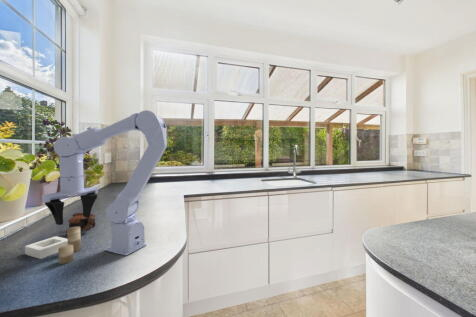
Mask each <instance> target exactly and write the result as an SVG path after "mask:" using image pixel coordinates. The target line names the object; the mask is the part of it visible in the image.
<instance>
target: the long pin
mask: <svg viewBox="0 0 476 317" xmlns="http://www.w3.org/2000/svg"><path fill="white" fill-rule="evenodd" d="M66 229H67V235H66V236H67V239H68V245H73V254H74V253H78V252H80V251H82V240H81V239H82V238H81V237H82V232H81V231H80V227H79V226H77V227H71V228H69V227H68V228H66Z"/></svg>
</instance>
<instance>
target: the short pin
mask: <svg viewBox="0 0 476 317" xmlns="http://www.w3.org/2000/svg"><path fill="white" fill-rule="evenodd" d="M58 250H59V252H58V264H59V265H66V264H69V263H71V262H73V261H74V258H75V256H74V253H73V245H65V246H62V247H60V248H59V249H58Z"/></svg>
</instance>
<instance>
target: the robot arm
mask: <svg viewBox="0 0 476 317" xmlns="http://www.w3.org/2000/svg"><path fill="white" fill-rule="evenodd" d="M167 129H168V128H167V125H166V123H165V120H164V119H163V118H162V117H161V116H159V115H158V114H156V113H155V112H153V111H151V110H142V111H140V112H136V113H133V114H131V115H130V116H126V117H125V118H123V119H121V120H118V121H116V122H114V123H111V124H110V125H108V126H105V127H102V128H99V127H92V126H89V127H86V130H85V131H82V132H80V133H73V134H72V135H71V136H70V137H68V136H60V138H57V139H55V142H54V144H53V150H54V152H55V154H56V155H58V160H59V161H58V162H59V163H58V164H59V181H60V182H59V185H60V187H59V188H60V191H58V192H53V193H47V194H42V195H41V202H42V203H44V205H45V206H46V208H47V209H48V210H49V211H50V213H51V214H52V217H53V219H54V221H55V225H58V226H61V225H64V206H65V203H66V202H64V201H62V200H64V199H72V198H76V197H77V198H78V197H80V200H81V205H82V213H83V216H84V217H90V214H92V213H91V212H92V208H93V207H94V204H95V201H96V200H97V199H98V194H99V187H97V186H96V187H95V186H94V187H85V180H84V179H85V178H84V156H85V154H86V152H87V153H88V152H89V151H91V150H93V149H96V148H99V147H102V146H103V145H106V144H107V142H108V140H109V139H110V138H113V137H116V136H119V135H122V134H124V133H128V132H132V131H139V132H141V133H143V136H144V137H145V140H146V142H147V144H148V145H147V147H146V149H145V151H144V152H143V154H142V156H141V158H140V160H139V161H138V164H137V165H136V166H135V169H134V170H133V173H132V174H131V176H130V178H129V180H128V181H127V183H126V185H125V187H124V188H123V189H122V191H121V192H120V193H118V195H117V196H116V198H115V199H114V201H113V202H111V203H110V204H108V205H107V207H106V209H105V215H106V219H107V220H108V221H109V222H110V243H111V244H110V246H108V247H105V248H104V251H105V252H108V253H109V252H110V253H114V254H118V255H122V256H128V255H130V254H132V253H134V252H135V251H138V250H140V249H141V248H143V247H145V246H147V245H148V244H147V242H146V241H145V226H144V223H143V222H141V221H139V220H138V218H137V214H136V212H137V211H138V210H139V204H140V200H141V198H142V192H143V191H144V188H145V187H146V185H147V184H148V181H149V180H150V178H151V176H152V174H153V172H154V171H155V169H156V167H157V166H158V164H159V162H160V160H161V158H162V156H163V155H164V153H165V151H166V149H167V147H168V141H167V140H168V138H167V137H168V136H167Z"/></svg>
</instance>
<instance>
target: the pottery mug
mask: <svg viewBox="0 0 476 317" xmlns="http://www.w3.org/2000/svg"><path fill="white" fill-rule="evenodd" d="M95 217H96V215H95V214H94V213H90V217H84V216H83V212H75V213H73V215H72V217H71V218H69V219H68V222H69V224H68V228H71V227H77V226H79V227H80V231H81V233H82V232H83V231H84V232H88V231H90V230H91V227H92V228H94V227H96V219H95ZM68 228H66V229H65V235H66V236H68V235H67V229H68Z"/></svg>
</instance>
